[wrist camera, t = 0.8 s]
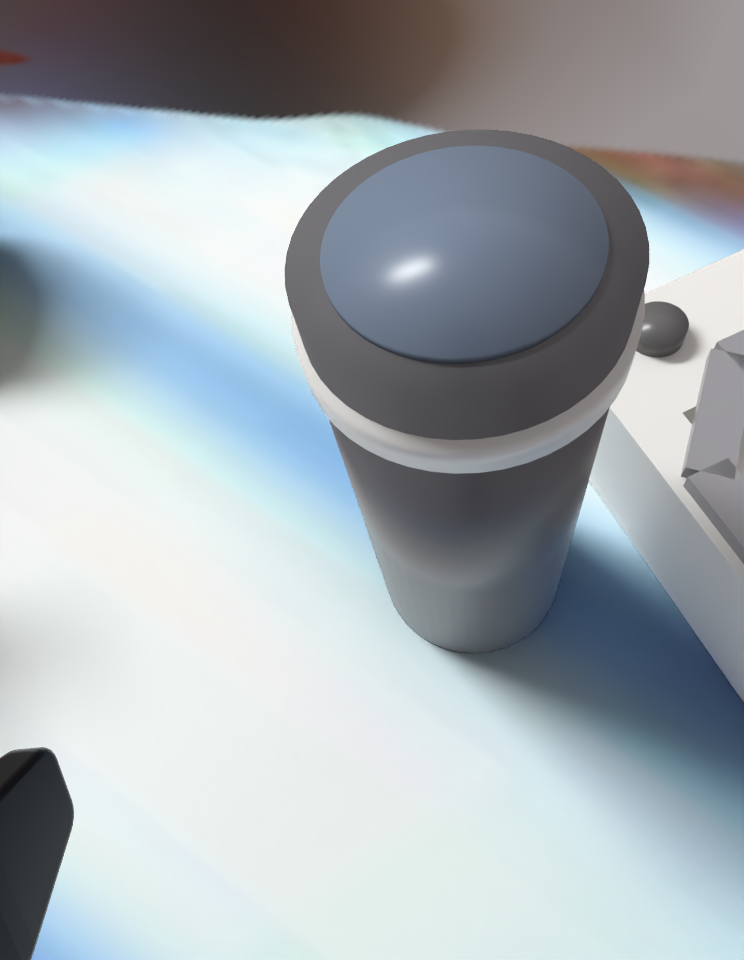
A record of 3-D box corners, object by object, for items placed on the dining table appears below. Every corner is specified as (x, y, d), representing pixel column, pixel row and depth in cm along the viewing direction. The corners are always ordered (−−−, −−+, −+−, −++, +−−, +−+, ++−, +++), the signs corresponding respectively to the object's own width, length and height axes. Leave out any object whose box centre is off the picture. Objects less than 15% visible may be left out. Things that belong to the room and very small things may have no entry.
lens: (599, 607, 22) (750, 292, 10) (429, 690, 22) (362, 470, 9) (506, 461, 25) (532, 73, 13) (353, 532, 25) (225, 201, 12)
